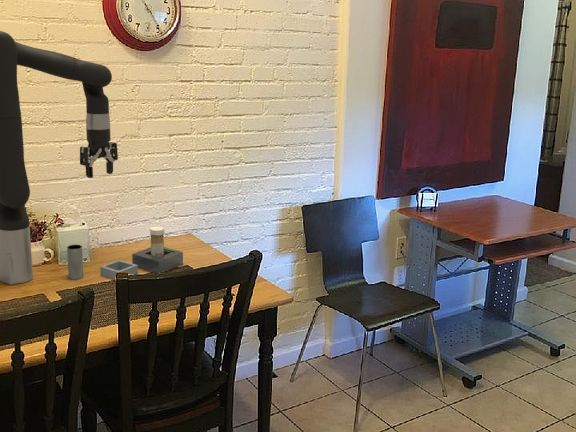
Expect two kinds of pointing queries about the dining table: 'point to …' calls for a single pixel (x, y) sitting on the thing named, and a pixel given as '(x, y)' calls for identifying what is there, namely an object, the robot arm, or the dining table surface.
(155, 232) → the sprinkles bottle
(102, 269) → the blue-grey square tray
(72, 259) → the gray cylinder
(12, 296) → the dining table surface
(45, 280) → the dining table surface
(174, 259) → the port block
